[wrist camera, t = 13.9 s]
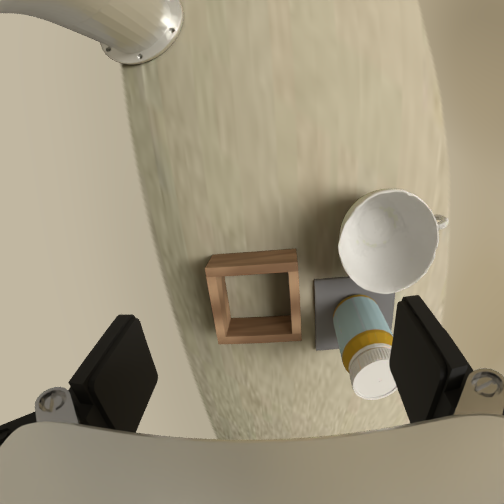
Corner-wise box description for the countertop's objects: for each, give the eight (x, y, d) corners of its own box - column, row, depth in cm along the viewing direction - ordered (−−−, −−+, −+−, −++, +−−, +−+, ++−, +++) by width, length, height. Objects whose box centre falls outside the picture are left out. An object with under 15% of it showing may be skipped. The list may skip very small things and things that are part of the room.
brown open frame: (212, 254, 45) (204, 268, 40) (295, 248, 43) (297, 262, 39) (224, 325, 48) (218, 344, 44) (300, 321, 47) (301, 340, 42)
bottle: (383, 321, 45) (413, 387, 31) (341, 340, 47) (358, 410, 33) (369, 284, 44) (402, 345, 30) (325, 304, 45) (340, 372, 31)
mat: (314, 279, 45) (314, 280, 44) (395, 272, 43) (396, 273, 43) (315, 348, 48) (316, 350, 48) (388, 341, 47) (389, 342, 47)
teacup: (340, 279, 44) (350, 307, 37) (318, 194, 41) (327, 206, 33) (435, 251, 42) (459, 273, 34) (422, 167, 38) (449, 174, 31)
